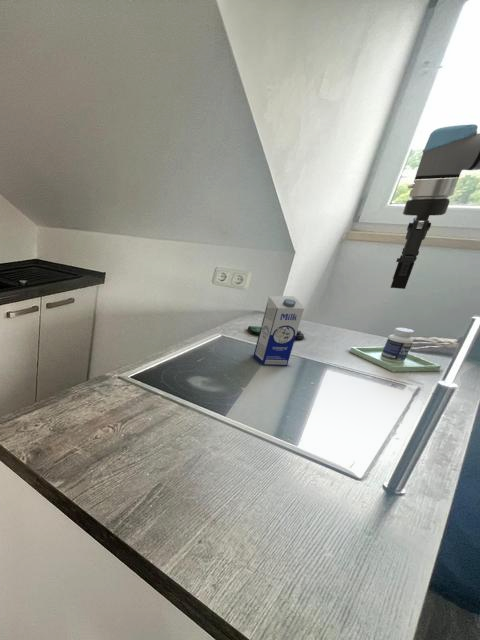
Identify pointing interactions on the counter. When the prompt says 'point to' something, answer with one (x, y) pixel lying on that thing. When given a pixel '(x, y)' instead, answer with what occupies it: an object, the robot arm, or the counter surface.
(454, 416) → the counter surface
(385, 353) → the pill bottle
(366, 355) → the tray
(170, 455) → the counter surface
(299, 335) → the gun
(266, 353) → the milk carton
